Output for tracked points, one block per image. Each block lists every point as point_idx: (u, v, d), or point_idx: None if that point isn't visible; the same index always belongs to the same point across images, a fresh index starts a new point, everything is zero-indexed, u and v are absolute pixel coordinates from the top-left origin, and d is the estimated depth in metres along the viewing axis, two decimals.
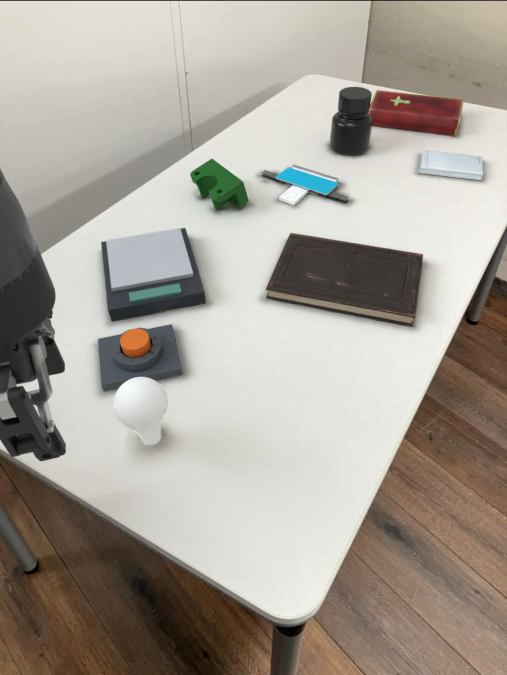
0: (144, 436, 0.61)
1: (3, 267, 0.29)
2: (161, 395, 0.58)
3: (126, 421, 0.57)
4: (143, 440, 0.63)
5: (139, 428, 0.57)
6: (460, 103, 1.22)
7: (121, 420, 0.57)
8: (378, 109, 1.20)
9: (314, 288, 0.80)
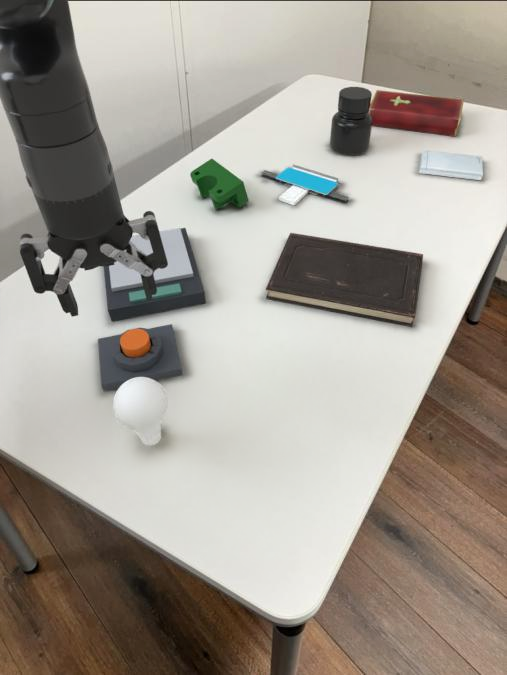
0: (144, 436, 0.61)
1: (37, 187, 0.45)
2: (161, 395, 0.58)
3: (126, 421, 0.57)
4: (143, 440, 0.63)
5: (139, 428, 0.57)
6: (460, 103, 1.22)
7: (121, 420, 0.57)
8: (378, 109, 1.20)
9: (314, 288, 0.80)
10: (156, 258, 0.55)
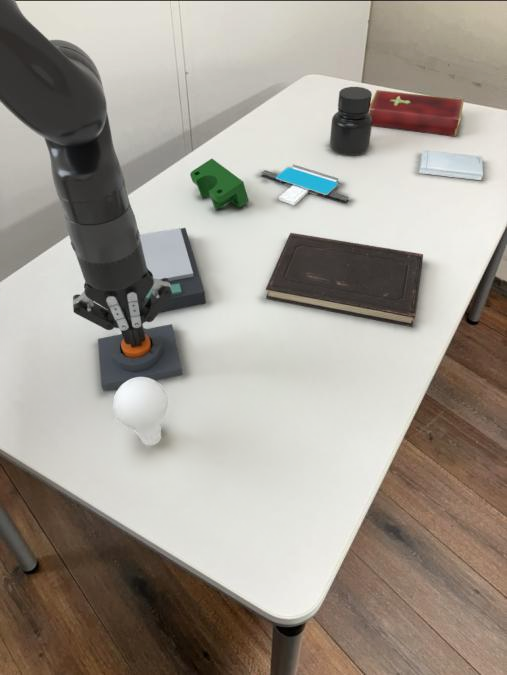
0: (144, 436, 0.61)
1: (80, 252, 0.56)
2: (161, 395, 0.58)
3: (126, 421, 0.57)
4: (143, 440, 0.63)
5: (139, 428, 0.57)
6: (460, 103, 1.22)
7: (121, 420, 0.57)
8: (378, 109, 1.20)
9: (314, 288, 0.80)
10: (149, 312, 0.67)
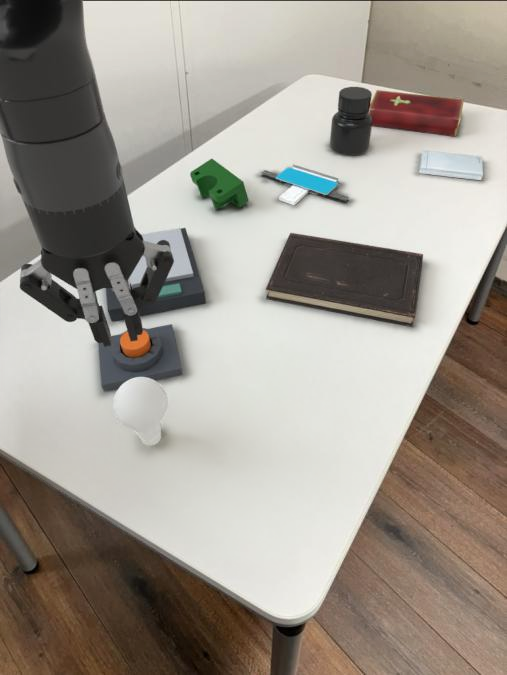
0: (144, 436, 0.61)
1: (26, 193, 0.36)
2: (161, 395, 0.58)
3: (126, 421, 0.57)
4: (143, 440, 0.63)
5: (139, 428, 0.57)
6: (460, 103, 1.22)
7: (121, 420, 0.57)
8: (378, 109, 1.20)
9: (314, 288, 0.80)
10: (147, 293, 0.46)
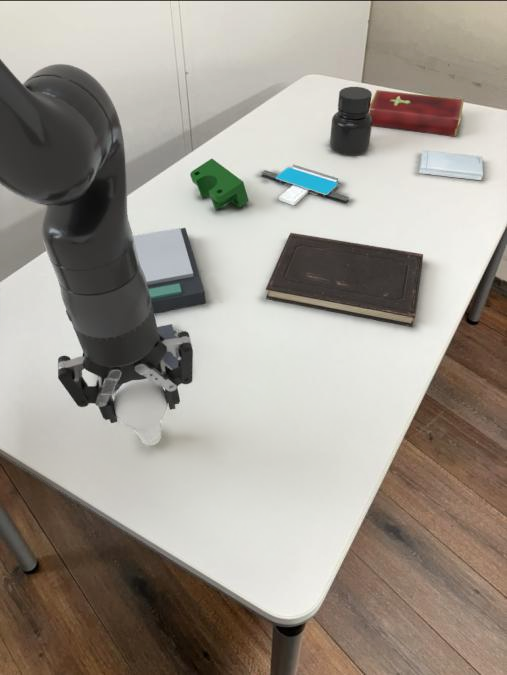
0: (144, 436, 0.61)
1: (77, 324, 0.45)
2: (161, 395, 0.58)
3: (126, 421, 0.57)
4: (143, 440, 0.63)
5: (139, 428, 0.57)
6: (460, 103, 1.22)
7: (121, 420, 0.57)
8: (378, 109, 1.20)
9: (314, 288, 0.80)
10: (182, 375, 0.55)
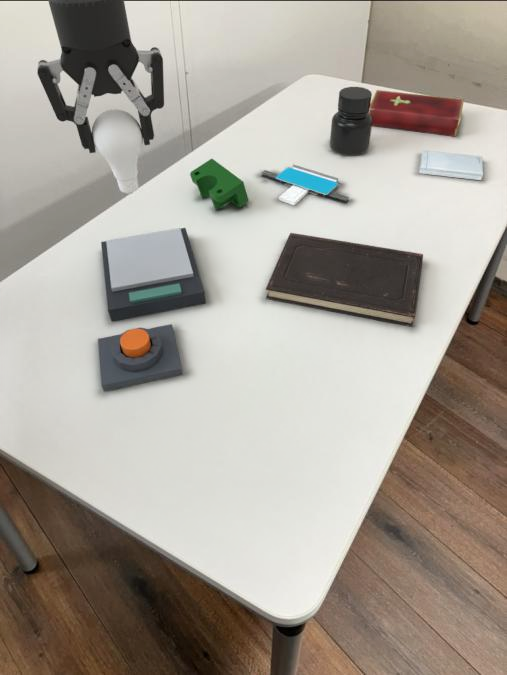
0: (121, 176, 0.65)
1: None
2: (136, 123, 0.62)
3: (102, 143, 0.61)
4: (121, 185, 0.67)
5: (115, 153, 0.62)
6: (460, 103, 1.22)
7: (98, 144, 0.61)
8: (378, 109, 1.20)
9: (314, 288, 0.80)
10: (154, 95, 0.60)
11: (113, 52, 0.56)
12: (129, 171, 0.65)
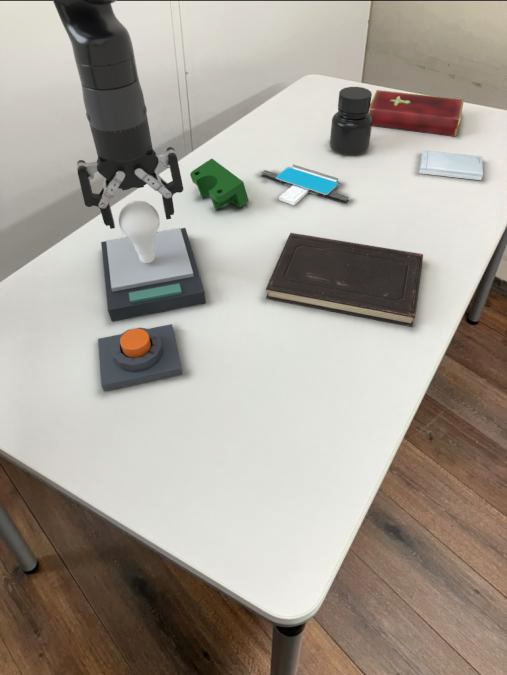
0: (142, 251, 0.80)
1: (94, 120, 0.64)
2: (154, 212, 0.77)
3: (128, 229, 0.76)
4: (141, 257, 0.82)
5: (138, 236, 0.77)
6: (460, 103, 1.22)
7: (124, 229, 0.76)
8: (378, 109, 1.20)
9: (314, 288, 0.80)
10: (175, 183, 0.74)
11: (138, 159, 0.70)
12: (148, 247, 0.80)
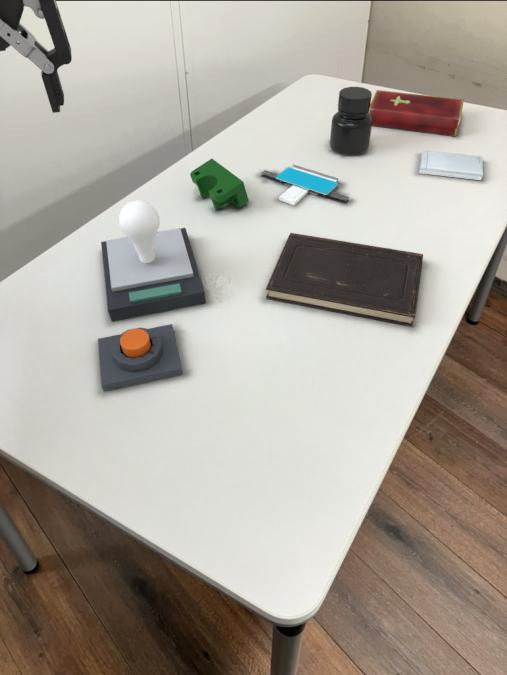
0: (142, 251, 0.80)
1: None
2: (154, 212, 0.77)
3: (128, 229, 0.76)
4: (141, 257, 0.82)
5: (138, 236, 0.77)
6: (460, 103, 1.22)
7: (124, 229, 0.76)
8: (378, 109, 1.20)
9: (314, 288, 0.80)
10: (56, 47, 0.47)
11: None
12: (148, 247, 0.80)
